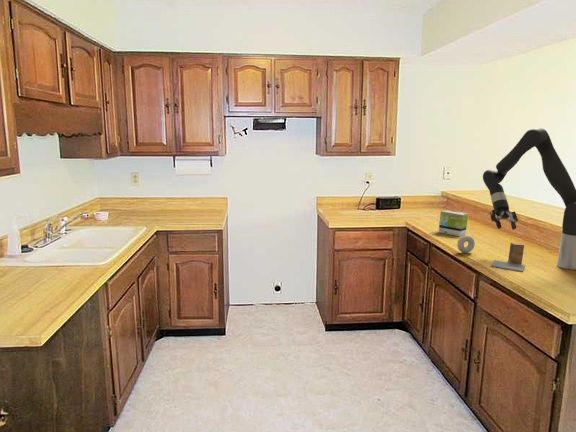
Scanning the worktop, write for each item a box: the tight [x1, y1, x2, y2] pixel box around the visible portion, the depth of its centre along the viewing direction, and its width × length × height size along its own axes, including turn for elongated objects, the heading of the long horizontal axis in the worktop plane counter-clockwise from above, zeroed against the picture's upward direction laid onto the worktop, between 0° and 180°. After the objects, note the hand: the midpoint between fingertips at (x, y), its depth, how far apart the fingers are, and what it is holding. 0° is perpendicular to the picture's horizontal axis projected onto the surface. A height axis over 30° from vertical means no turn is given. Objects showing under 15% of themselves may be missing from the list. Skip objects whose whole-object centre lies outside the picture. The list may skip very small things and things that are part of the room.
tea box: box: [438, 209, 469, 237], centre depth 289 cm, size 15×10×15 cm
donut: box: [456, 234, 476, 254], centre depth 239 cm, size 10×3×10 cm, turn 101°
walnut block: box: [507, 242, 525, 265], centre depth 223 cm, size 4×5×10 cm
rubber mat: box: [490, 259, 526, 273], centre depth 216 cm, size 14×12×1 cm
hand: (507, 228), depth 231 cm, fingers open, 8 cm apart
